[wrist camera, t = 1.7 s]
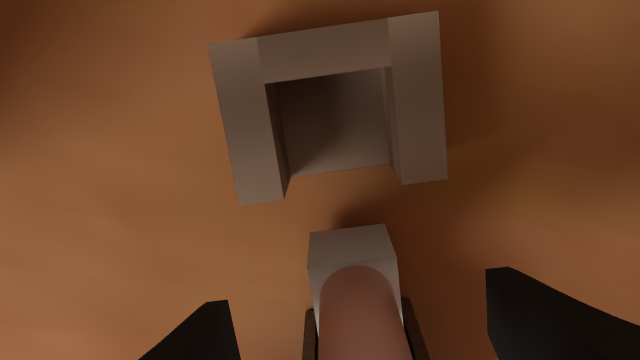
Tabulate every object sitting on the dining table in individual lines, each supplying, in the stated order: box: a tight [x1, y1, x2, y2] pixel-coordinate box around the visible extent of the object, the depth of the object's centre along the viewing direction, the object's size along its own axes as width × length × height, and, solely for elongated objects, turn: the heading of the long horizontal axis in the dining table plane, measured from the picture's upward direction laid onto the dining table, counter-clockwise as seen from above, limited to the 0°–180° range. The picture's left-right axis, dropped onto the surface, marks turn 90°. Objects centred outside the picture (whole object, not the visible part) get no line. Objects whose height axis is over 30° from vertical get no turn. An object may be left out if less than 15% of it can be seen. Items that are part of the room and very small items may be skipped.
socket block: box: [207, 10, 448, 206], centre depth 13 cm, size 4×6×3 cm
